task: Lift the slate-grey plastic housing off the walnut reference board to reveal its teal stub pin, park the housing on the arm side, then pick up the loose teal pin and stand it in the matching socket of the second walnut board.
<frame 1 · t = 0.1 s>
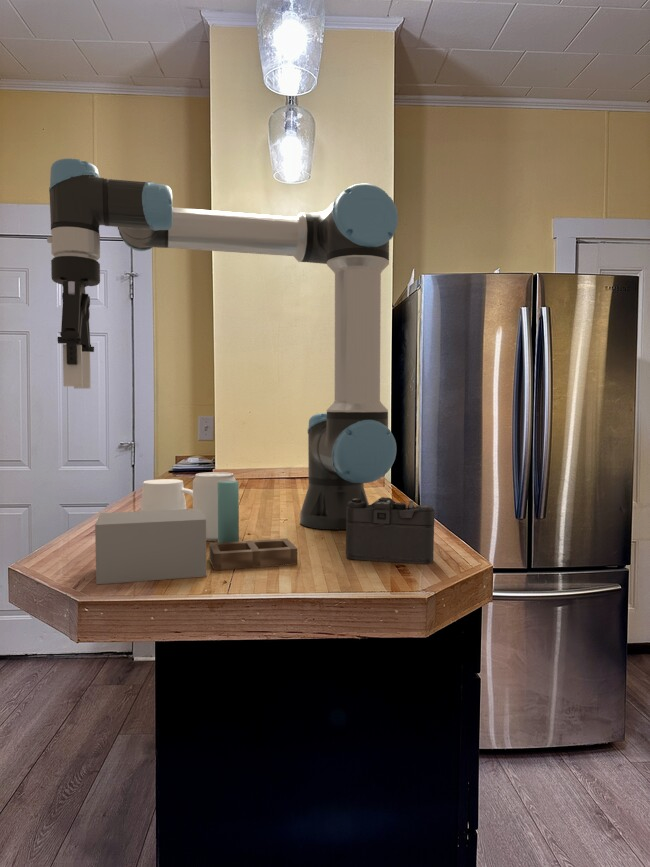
hand: (78, 387, 105), 28 cm above the worktop, fingers open, 13 cm apart
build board: (252, 561, 100), on the worktop
mug: (169, 527, 129), on the worktop
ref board: (152, 571, 94), on the worktop
beverage can: (215, 538, 118), on the worktop
pin: (228, 552, 106), on the worktop
camera: (391, 557, 104), on the worktop
cover: (152, 571, 94), on the worktop
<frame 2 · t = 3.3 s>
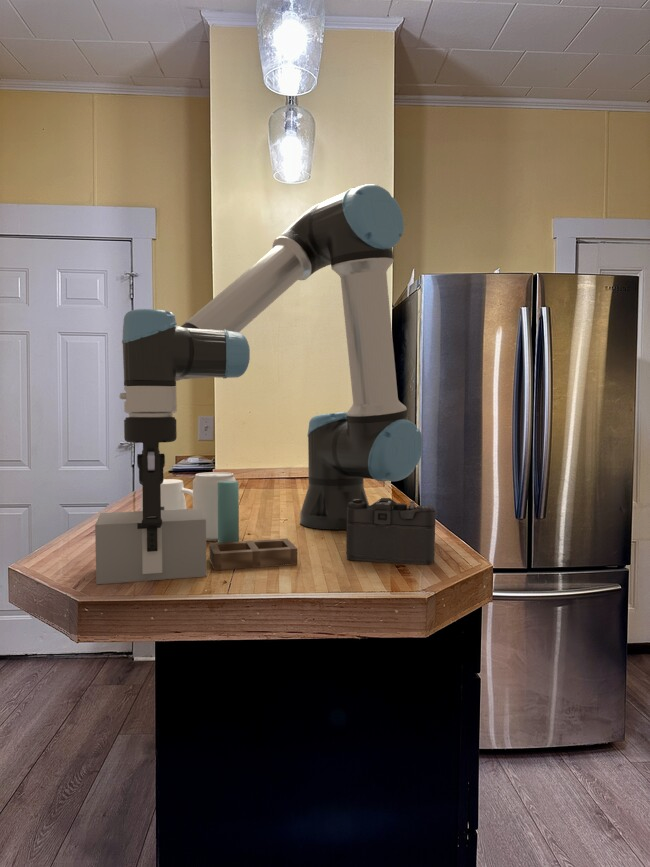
hand: (152, 563, 94), 1 cm above the worktop, fingers closed on cover, 10 cm apart
cover: (152, 571, 94), on the worktop, touching gripper
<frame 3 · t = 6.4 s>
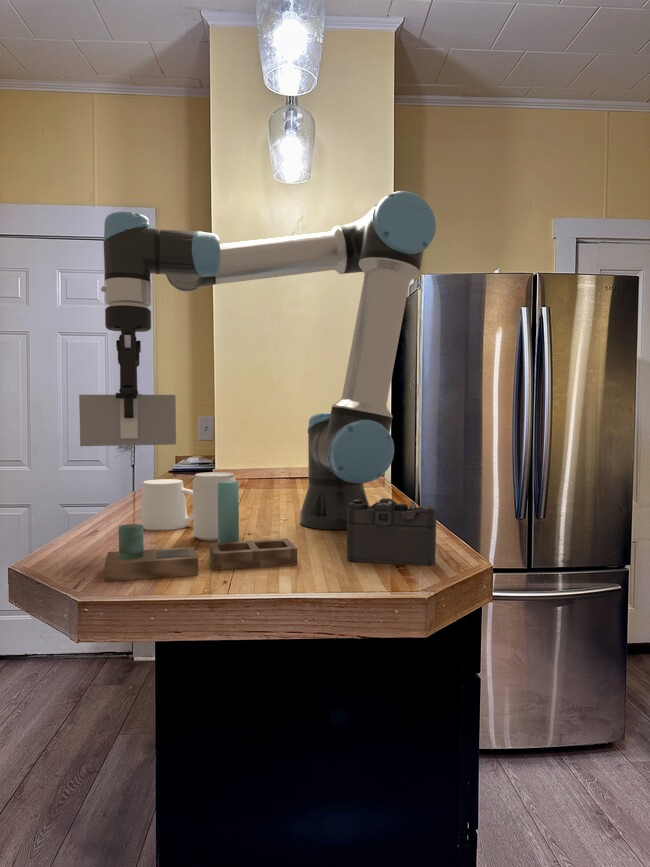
hand: (130, 436, 108), 20 cm above the worktop, fingers closed on cover, 10 cm apart
cover: (129, 443, 108), point 18 cm above the worktop, touching gripper
when the fingers open (3 cm above the worktop, at t = 9.5 s): cover drops 1 cm, on the worktop.
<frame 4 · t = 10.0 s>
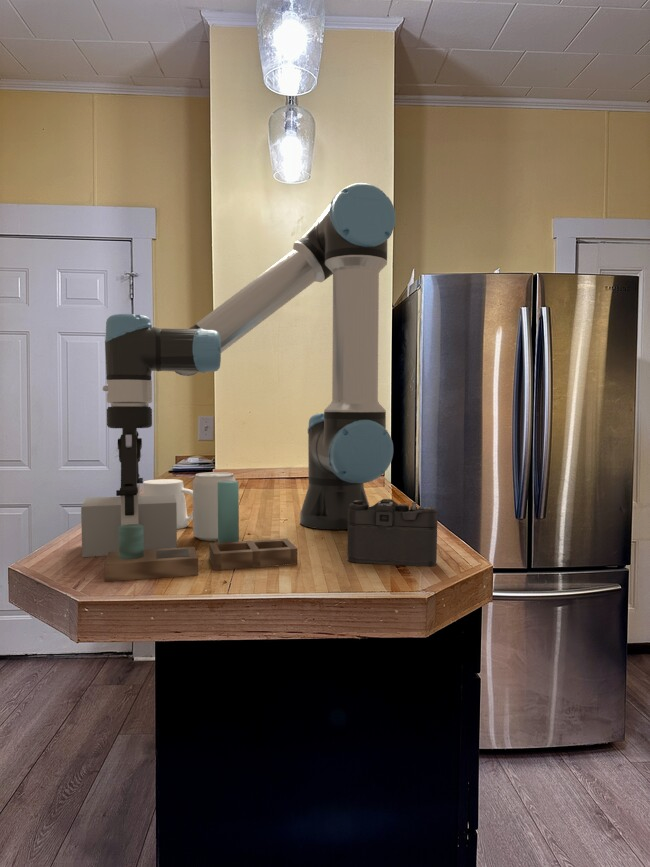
hand: (131, 526, 109), 4 cm above the worktop, fingers open, 13 cm apart
cover: (131, 547, 109), on the worktop
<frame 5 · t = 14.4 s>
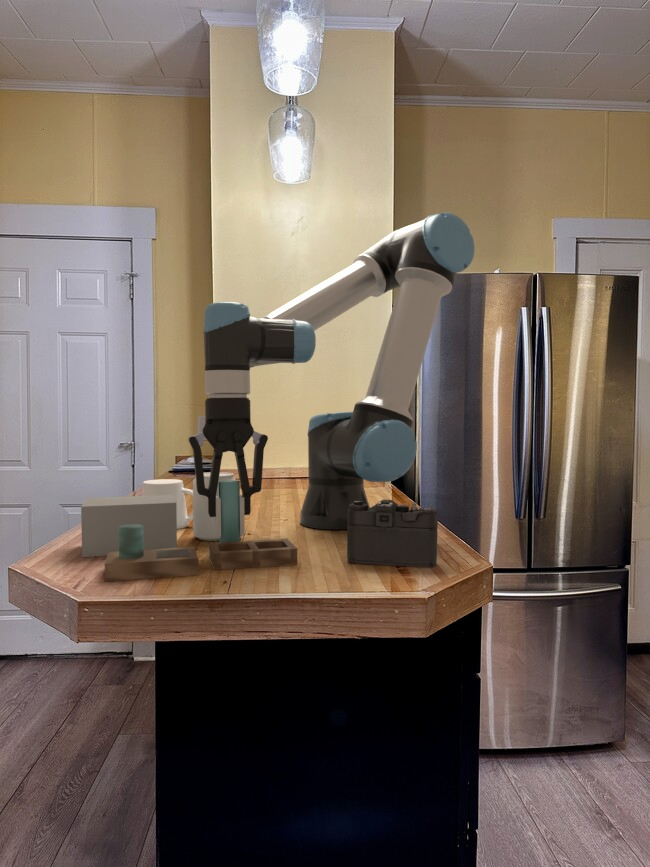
hand: (229, 534, 106), 3 cm above the worktop, fingers closed on pin, 3 cm apart
pin: (230, 551, 106), on the worktop, touching gripper
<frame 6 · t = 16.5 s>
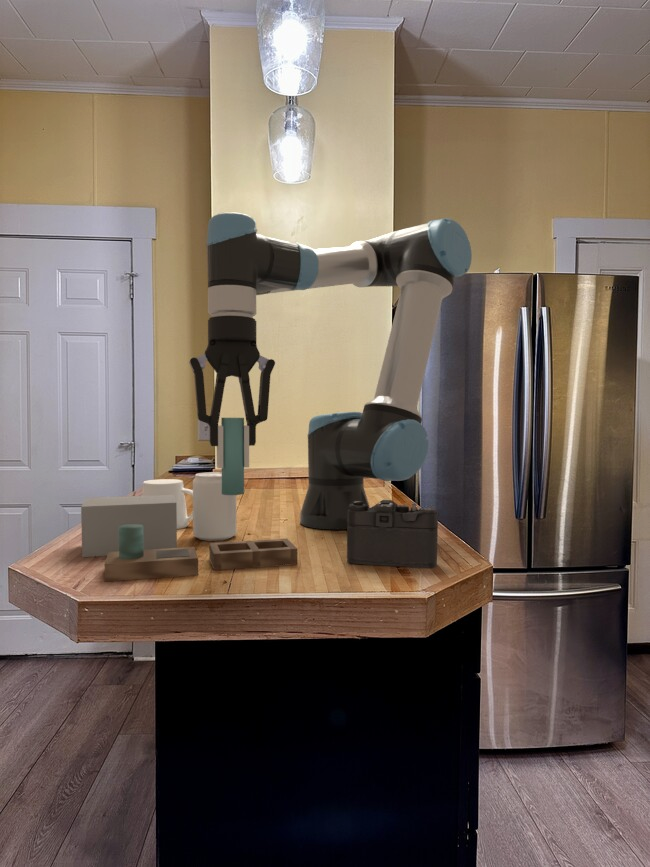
hand: (232, 466, 99), 15 cm above the worktop, fingers closed on pin, 3 cm apart
pin: (232, 493, 99), point 11 cm above the worktop, touching gripper
when the fingers open (4 cm above the worktop, at t = 19.1 s): pin stays where it is, resting in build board.
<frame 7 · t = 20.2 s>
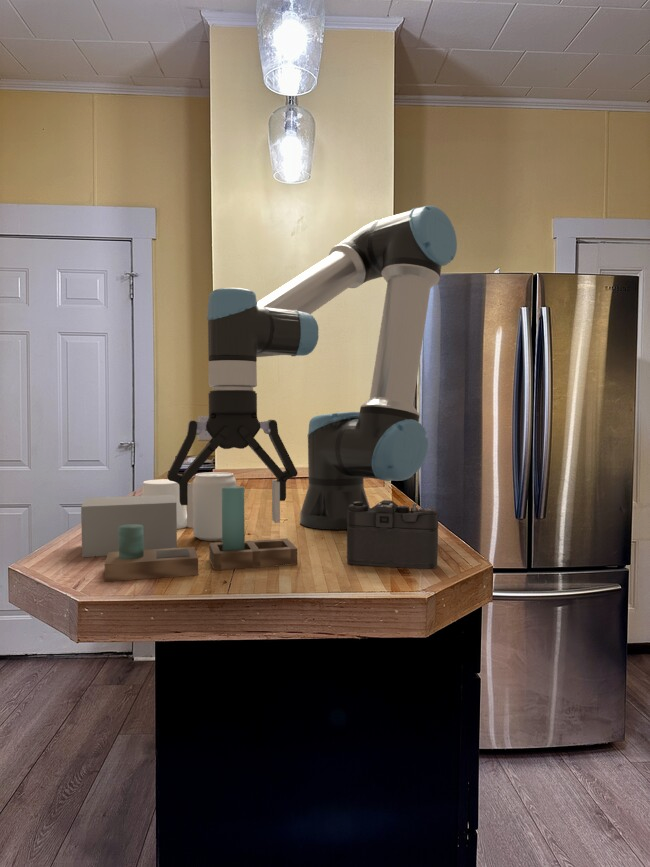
hand: (233, 523, 99), 6 cm above the worktop, fingers open, 13 cm apart
pin: (233, 562, 99), resting in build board
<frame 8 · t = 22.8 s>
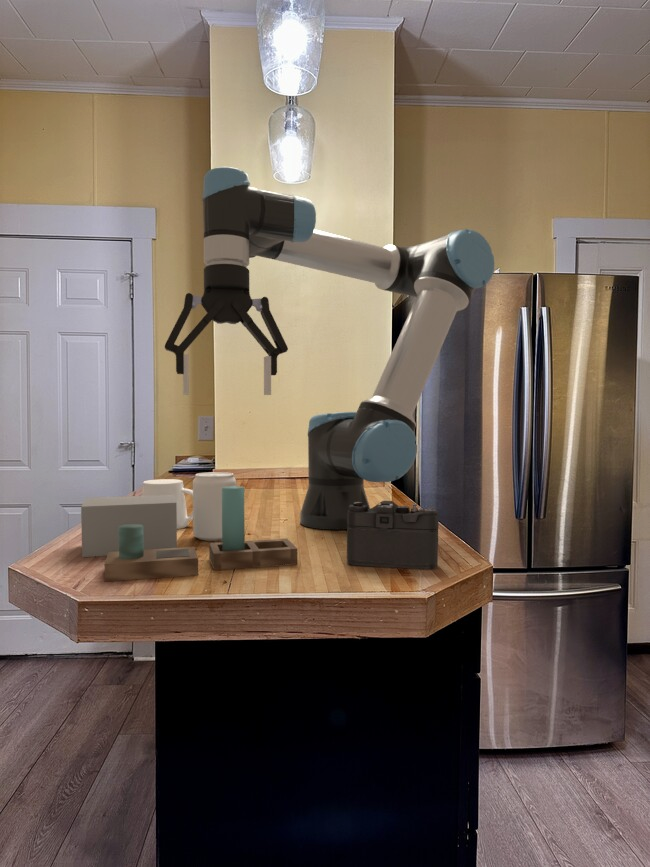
hand: (227, 395, 105), 27 cm above the worktop, fingers open, 13 cm apart
at the end: pin 0.1 cm from the target spot on the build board, point 0.0 cm above the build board's base; pin tilted 0°; cover moved 17.3 cm from its start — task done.
